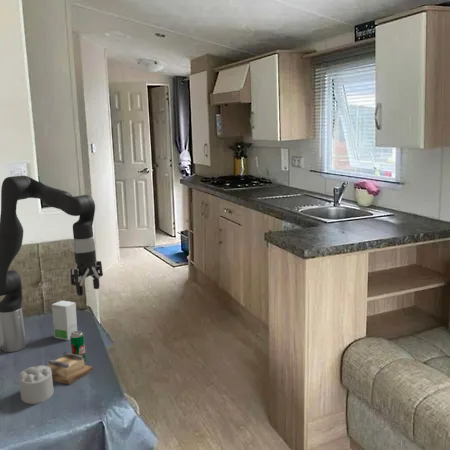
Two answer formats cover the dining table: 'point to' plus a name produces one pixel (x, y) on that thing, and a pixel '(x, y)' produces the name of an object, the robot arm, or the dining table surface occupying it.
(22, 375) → the white cylindrical tub
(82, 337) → the soda can
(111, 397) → the dining table surface
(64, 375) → the display stand
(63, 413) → the dining table surface
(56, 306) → the skincare box
